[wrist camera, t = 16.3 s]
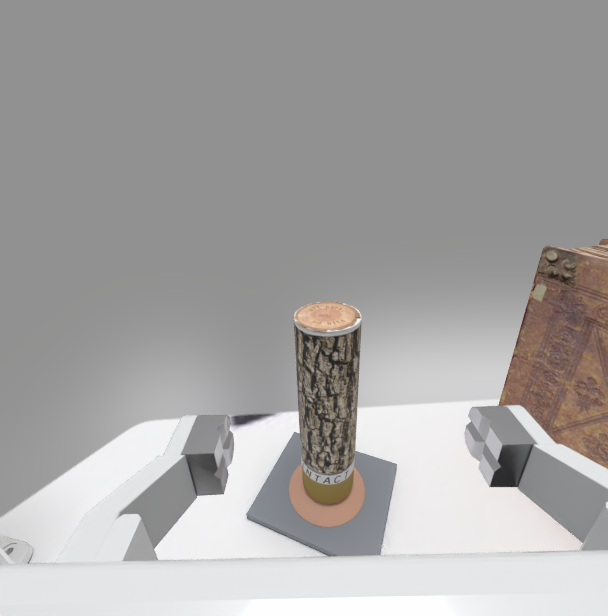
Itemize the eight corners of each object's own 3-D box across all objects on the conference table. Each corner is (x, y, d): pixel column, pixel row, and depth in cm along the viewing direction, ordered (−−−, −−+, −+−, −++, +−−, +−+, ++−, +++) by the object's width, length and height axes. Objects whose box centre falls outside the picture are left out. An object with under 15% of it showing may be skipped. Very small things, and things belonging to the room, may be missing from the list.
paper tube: (307, 457, 46) (301, 300, 36) (354, 464, 45) (362, 303, 34) (297, 501, 40) (286, 329, 30) (351, 511, 39) (359, 334, 28)
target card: (247, 518, 39) (246, 513, 39) (294, 435, 51) (294, 431, 51) (375, 576, 33) (375, 571, 33) (396, 467, 45) (396, 463, 45)
